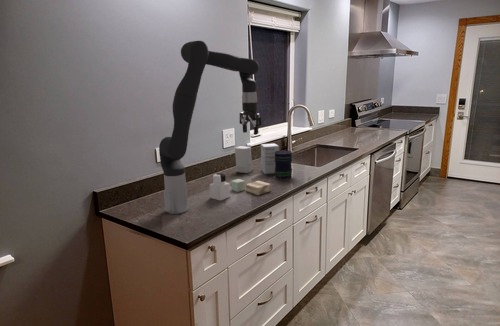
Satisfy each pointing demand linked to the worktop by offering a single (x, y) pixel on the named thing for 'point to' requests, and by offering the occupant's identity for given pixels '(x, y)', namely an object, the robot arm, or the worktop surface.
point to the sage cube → (238, 185)
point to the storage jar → (283, 164)
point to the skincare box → (243, 159)
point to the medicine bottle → (219, 187)
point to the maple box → (258, 187)
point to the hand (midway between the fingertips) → (250, 133)
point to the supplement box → (268, 157)
